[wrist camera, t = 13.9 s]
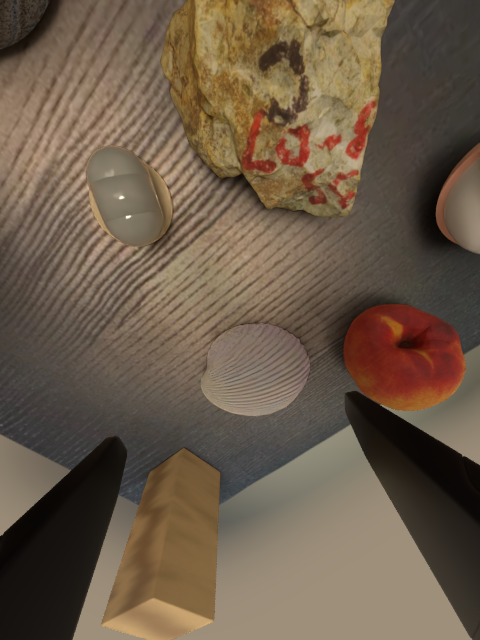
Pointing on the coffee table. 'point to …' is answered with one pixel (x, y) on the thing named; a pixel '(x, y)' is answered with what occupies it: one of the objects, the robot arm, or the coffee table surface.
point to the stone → (124, 195)
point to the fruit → (403, 357)
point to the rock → (280, 93)
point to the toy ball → (462, 203)
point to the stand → (169, 554)
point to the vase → (19, 19)
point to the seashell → (255, 369)
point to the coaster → (162, 196)
